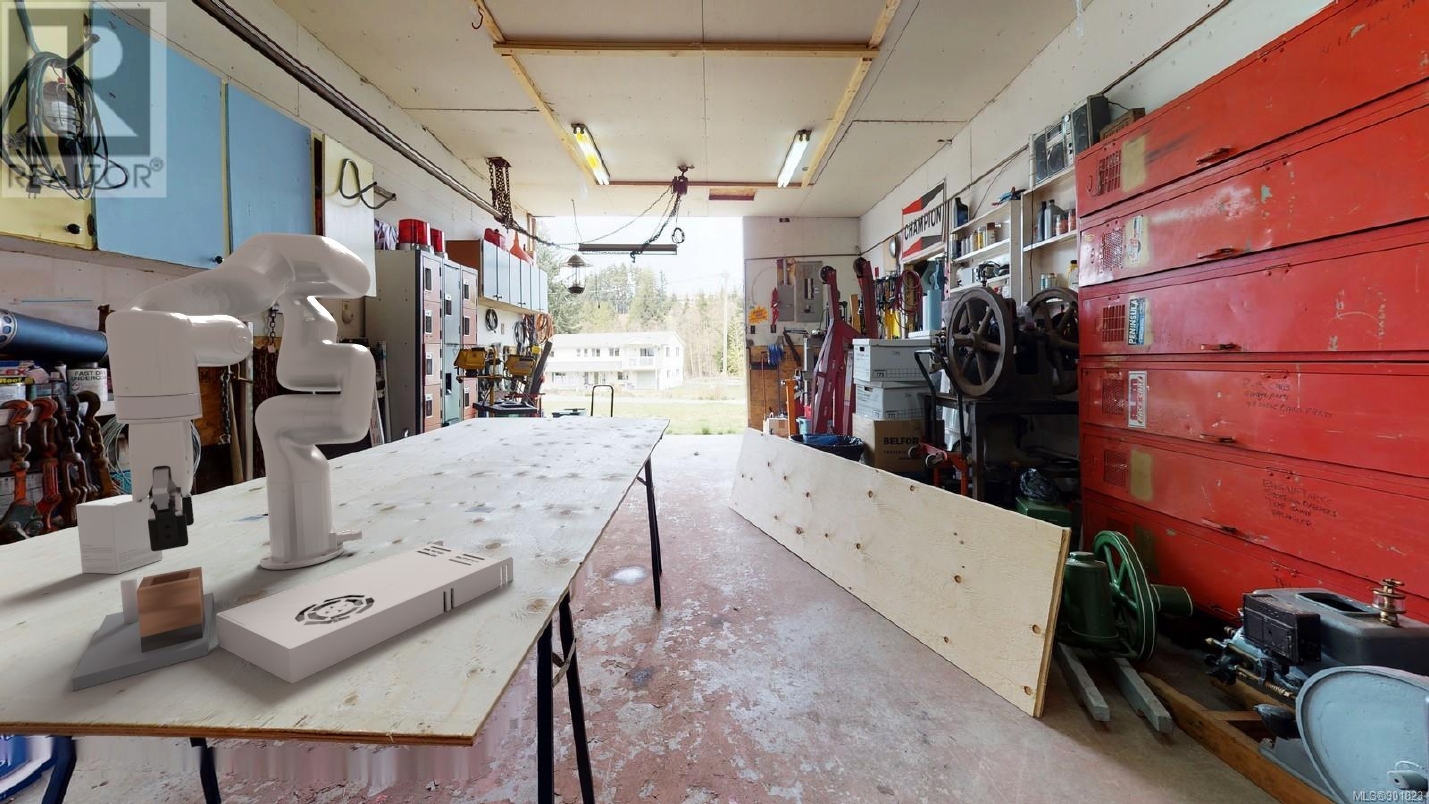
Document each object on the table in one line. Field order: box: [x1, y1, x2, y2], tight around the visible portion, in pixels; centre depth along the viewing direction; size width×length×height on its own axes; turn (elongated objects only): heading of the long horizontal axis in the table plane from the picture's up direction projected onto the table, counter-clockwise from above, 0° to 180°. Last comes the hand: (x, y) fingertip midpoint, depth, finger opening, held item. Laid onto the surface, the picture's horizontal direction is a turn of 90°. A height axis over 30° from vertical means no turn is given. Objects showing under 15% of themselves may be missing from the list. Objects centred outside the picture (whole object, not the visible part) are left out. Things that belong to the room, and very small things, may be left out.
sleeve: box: [137, 566, 205, 653], centre depth 68 cm, size 5×5×8 cm
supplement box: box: [75, 494, 164, 575], centre depth 95 cm, size 7×7×13 cm
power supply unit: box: [215, 540, 514, 684], centre depth 79 cm, size 19×33×5 cm, turn 154°
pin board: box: [71, 576, 215, 692], centre depth 70 cm, size 11×20×8 cm, turn 42°
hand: (174, 536), depth 68 cm, fingers open, 9 cm apart
